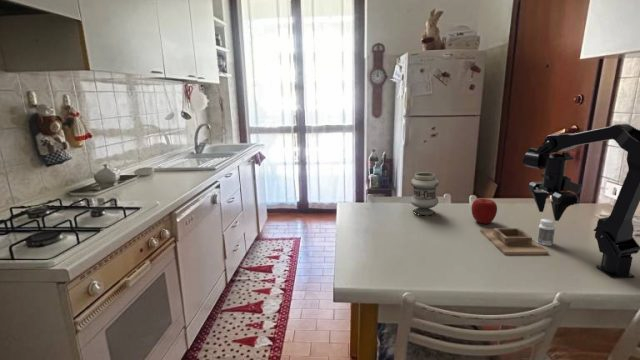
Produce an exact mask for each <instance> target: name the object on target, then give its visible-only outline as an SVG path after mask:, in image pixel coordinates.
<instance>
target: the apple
mask: <svg viewBox="0 0 640 360" xmlns="http://www.w3.org/2000/svg"><path fill="white" fill-rule="evenodd" d="M497 212H498V206H497V204H496V202H495V201H494V200H492V199H488V198H477V199H475V200H473V202H472V205H471V215H472V217H473V219H474V221H476V222H477V223H480V224H484V225H487V224H490V223H492V221H493V220H494V219H495V218H496V215H497V214H498V213H497Z"/></svg>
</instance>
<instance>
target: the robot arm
mask: <svg viewBox="0 0 640 360" xmlns="http://www.w3.org/2000/svg"><path fill="white" fill-rule="evenodd" d="M611 140H614V141H615V143H616V144H617V145H618V146H619V147H620V148H621V149H622V150H624V151H625V152H627V155H626V163H627V168H628V171H627V173H626V176H625V177H624V181H623V183H622V185H621V187H620V190H619V192H618V195H617V198H616V200H615V202H614V205H613V207H612V209H611V213H609V214H610V215H609V216H608V217H602V218H598V220H597V222H596V223H597V224H596V227H595V228H594V229H593V232H595V233H594V239H595V240H596V241H597V242H596V243H597V246H598V250H599V252H600V253H601V254H602V258H601V264H596V265H595V268H596V269H598V270H600V271H601V272H602V273H605V274H606V275H607V276H609V277H610V278H635V274H633V273H631V268H632V263H633V256H632V255H635V254H636V255H637V254H639V252H640V245H639V244H638V242H637V241H636V239H635V238H634V237H633V235H634V231H635V230H634V225H633V218H634V216H635V213H636V211H637V209H638V207H639V204H640V129H638V128H636V127H634V126H632V125H631V124H629V123H620V124H612V125H610V126H606V127H605V126H604V127H602V128H601V127H600V128H596V129H591V130H587V131H586V130H585V131H581V132H577V133H576V132H575V133H560V134H559V133H556V134H555V133H554V134H549V135H547V136H545V139H544V141H543V142H542V143H541V144H540V146H539V147H538V148H535V147H530V148H528V149H527V150H528V151H527V152H526V153H525V154H524V156H523V157H522V164H523V166H524V167H525V166H526V167H528V168H533V169H538V170H544V171H543V173H540V177H541V178H543V180H542V181H531V182H529V184H528V186H527V187H528V190H529V191H530V192H529V193H530V194H531V195H532V198H533V200H534V202H535V204H536V208H537V210H538V212H539V213H544V210H545V208H546V207H545V206H546V202H547V198H548V197H549V195H551V200H552V201H550V205H551V210H552V214H553V219H554V222H559V221H560V219H561V218H562V216H563V215H564V212H565V211H566V209H567V208H569V207H570V206H574V205H578V204H579V199H580V198H579V196H578V194H579V193H580V191H581V189H582V187H583V185H582V184H581V183H580V184H579V183H576V182H573V181H572V179H571V178H570V177H568V176H567V175H565V173H566V172H565V171H566V165H567V161H573V160H574V157H573V156H572V155H571V154H570V153H569V152H566V151H570V150H573V149H575V148H578V147H579V146H583V145H587V144H595V143H599V142H600V143H601V142H604V141H611ZM560 152H562V153H560Z"/></svg>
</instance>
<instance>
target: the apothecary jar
mask: <svg viewBox="0 0 640 360" xmlns="http://www.w3.org/2000/svg"><path fill="white" fill-rule="evenodd" d="M439 183H440V182H439V180H438V179H437V178H436V175H435V173H434V172H430V171H429V172H428V171H427V172H426V171H423V172H422V171H421V172H420V171H419V172H416V173H414V177H413V178H412V179H411V180H410V184H411V186H412V187H413V190H412V191H413V194H412V196H411V197H410V203H411V205H413V206H414V207H416V208H415V209H412V211H413V212H415V213H416V214H419V215H427V216H426V217H429V216H428V215H432V216H434V215H435V214H436V211H435V210H433V209H432V208H434V207H436V206H437V205H438V204H439V199H438V197H437V194H436V190H437V187H438V186H439ZM413 212H412V213H413ZM415 213H414V214H415ZM416 214H415V215H416ZM419 215H418V216H419Z"/></svg>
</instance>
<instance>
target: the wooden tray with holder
mask: <svg viewBox="0 0 640 360" xmlns="http://www.w3.org/2000/svg"><path fill="white" fill-rule="evenodd" d="M479 232H480V233H481V234H482V235H483V236H484V237H485V238H486V239H487V240H488V241H489V242H491V243H492V245H493V246H494V247H495V248H496V249H498V251H500V252H501V253H502V254H503V255H505V256H506V255H508V256H509V255H510V256H511V255H520V256H521V255H549V250H547V249H546V248H544V247H543V245H541V244H539V243H538V242H536V241H535V240H534V239H533V237H531V235H529V234H528V233H526V232H525V231H524V230H522V229H521V228H519V227H504V228H502V227H498V228H497V227H494V228H480V230H479Z"/></svg>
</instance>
